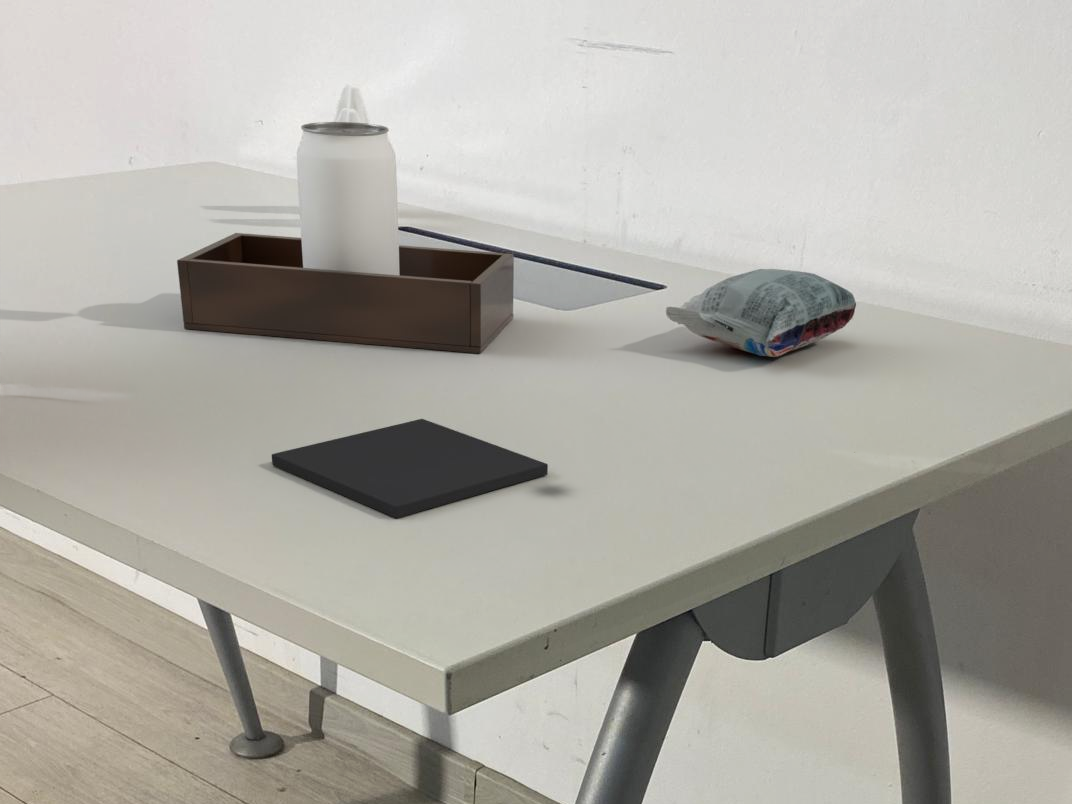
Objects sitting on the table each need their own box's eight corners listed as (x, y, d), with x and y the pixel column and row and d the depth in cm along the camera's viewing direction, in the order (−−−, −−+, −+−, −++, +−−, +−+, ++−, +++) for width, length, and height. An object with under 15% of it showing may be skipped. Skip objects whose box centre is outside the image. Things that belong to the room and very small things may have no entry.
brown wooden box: (183, 328, 96) (176, 260, 94) (240, 296, 105) (235, 232, 102) (480, 353, 94) (480, 284, 91) (513, 318, 102) (514, 253, 100)
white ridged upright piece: (335, 206, 138) (328, 79, 133) (379, 207, 139) (374, 81, 133) (329, 229, 128) (322, 92, 122) (376, 230, 129) (371, 94, 123)
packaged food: (663, 349, 96) (669, 273, 94) (752, 320, 105) (760, 250, 102) (774, 375, 92) (784, 296, 90) (858, 343, 101) (869, 271, 98)
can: (418, 314, 100) (413, 127, 94) (368, 333, 95) (360, 136, 89) (339, 302, 103) (330, 118, 96) (287, 320, 97) (274, 127, 91)
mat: (396, 519, 67) (395, 506, 67) (271, 465, 73) (270, 453, 73) (548, 475, 74) (548, 463, 73) (422, 428, 79) (422, 418, 79)
